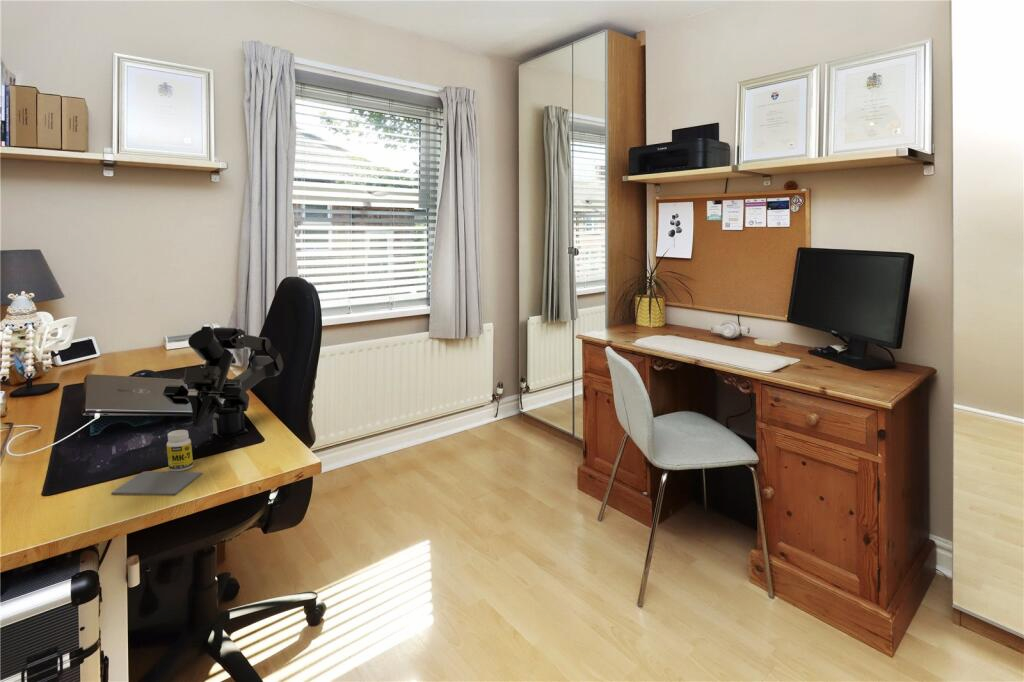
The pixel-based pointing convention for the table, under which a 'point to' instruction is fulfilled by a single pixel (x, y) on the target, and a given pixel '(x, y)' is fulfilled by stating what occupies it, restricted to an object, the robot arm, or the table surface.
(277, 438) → the table surface
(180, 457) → the supplement bottle
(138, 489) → the mat
